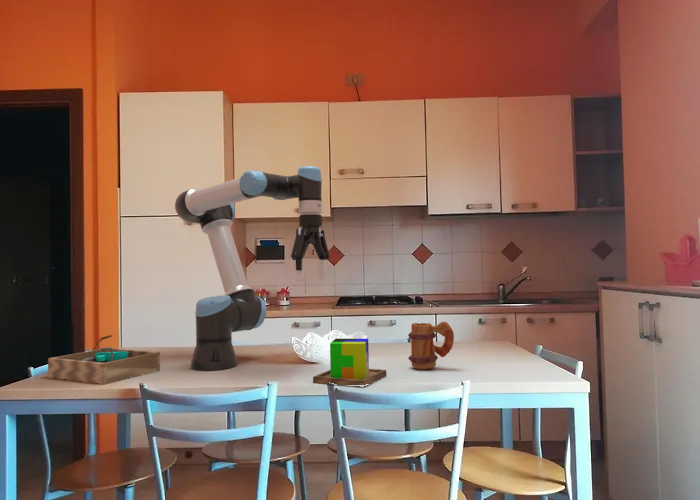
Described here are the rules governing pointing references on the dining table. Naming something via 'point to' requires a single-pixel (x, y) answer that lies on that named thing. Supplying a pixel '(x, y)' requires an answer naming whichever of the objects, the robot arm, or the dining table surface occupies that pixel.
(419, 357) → the mug
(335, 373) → the puzzle toy
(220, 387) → the dining table surface
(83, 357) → the open wooden box
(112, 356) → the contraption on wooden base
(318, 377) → the square wooden tray
